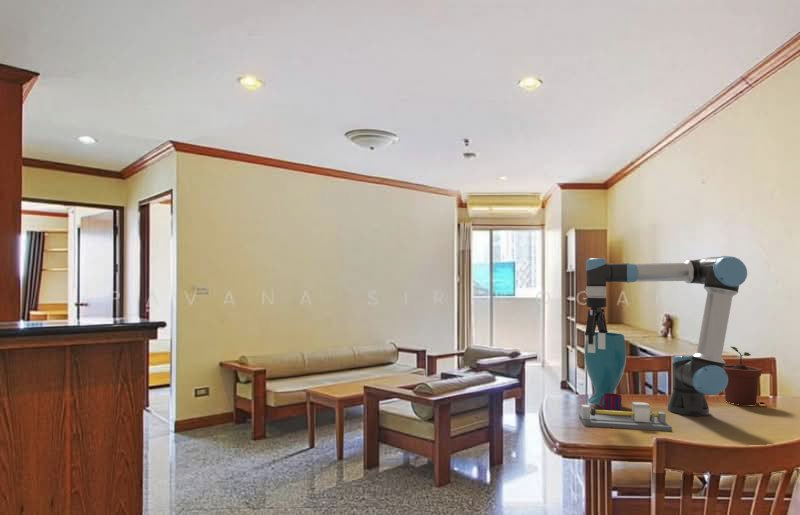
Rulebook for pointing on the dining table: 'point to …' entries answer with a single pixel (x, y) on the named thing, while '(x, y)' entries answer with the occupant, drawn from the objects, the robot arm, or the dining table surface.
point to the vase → (605, 365)
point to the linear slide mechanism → (622, 419)
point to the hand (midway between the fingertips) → (596, 350)
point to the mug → (611, 402)
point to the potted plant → (742, 383)
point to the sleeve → (641, 411)
